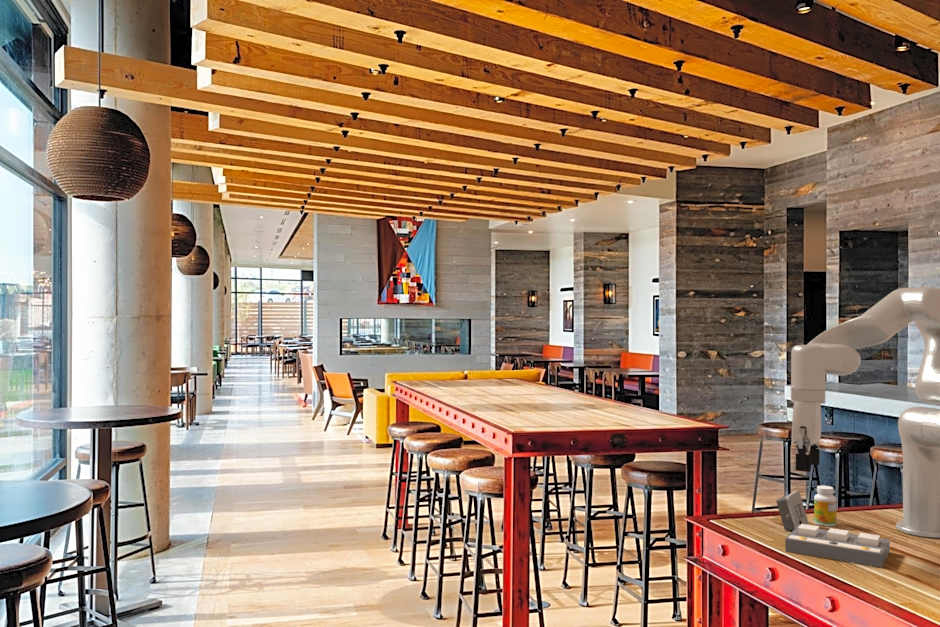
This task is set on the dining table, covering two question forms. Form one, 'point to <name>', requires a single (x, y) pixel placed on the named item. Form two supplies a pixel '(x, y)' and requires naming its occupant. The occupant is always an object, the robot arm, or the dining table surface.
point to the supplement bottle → (825, 506)
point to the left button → (808, 530)
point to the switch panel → (838, 548)
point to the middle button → (838, 535)
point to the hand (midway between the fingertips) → (807, 467)
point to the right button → (869, 539)
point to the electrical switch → (792, 510)
